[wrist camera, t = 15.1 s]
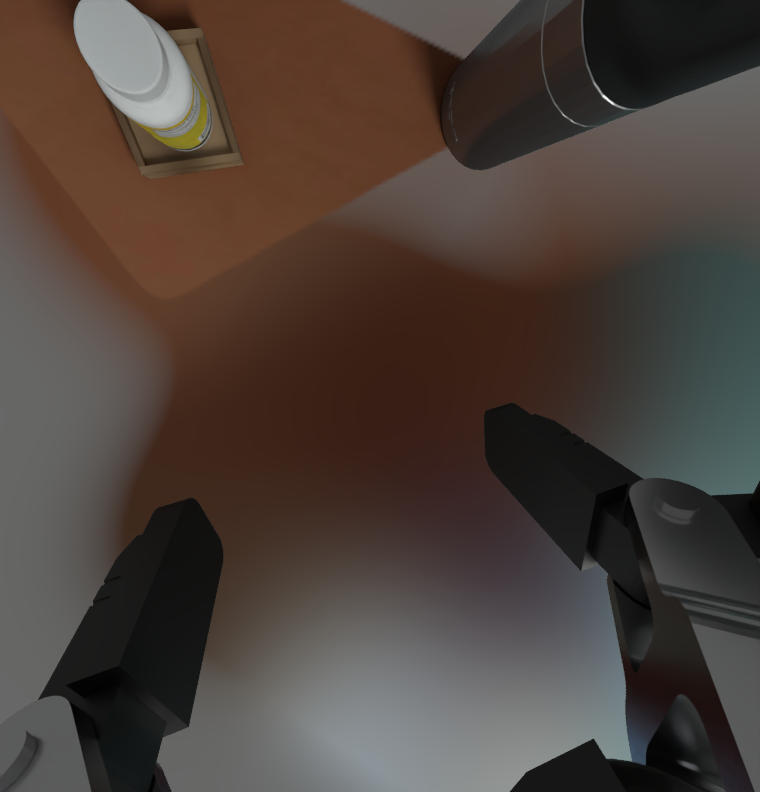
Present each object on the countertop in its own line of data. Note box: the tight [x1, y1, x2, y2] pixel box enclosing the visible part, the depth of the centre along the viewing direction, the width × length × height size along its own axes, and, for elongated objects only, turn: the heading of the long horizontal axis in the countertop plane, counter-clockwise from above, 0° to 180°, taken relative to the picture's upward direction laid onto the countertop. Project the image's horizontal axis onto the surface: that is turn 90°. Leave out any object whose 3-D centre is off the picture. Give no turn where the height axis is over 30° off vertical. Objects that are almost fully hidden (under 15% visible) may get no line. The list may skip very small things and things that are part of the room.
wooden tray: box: [109, 28, 244, 179], centre depth 26 cm, size 8×8×2 cm
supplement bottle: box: [74, 0, 213, 151], centre depth 21 cm, size 5×5×10 cm
